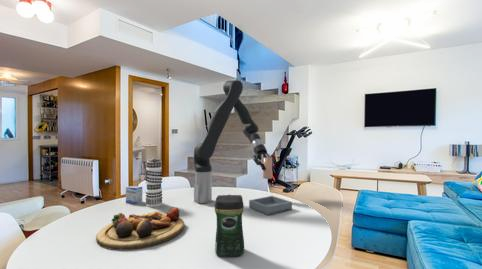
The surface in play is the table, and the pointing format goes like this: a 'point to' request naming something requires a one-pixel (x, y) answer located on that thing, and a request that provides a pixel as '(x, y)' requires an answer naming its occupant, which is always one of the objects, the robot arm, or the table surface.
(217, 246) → the coffee jar
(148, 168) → the model tower building
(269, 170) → the cup
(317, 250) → the table surface
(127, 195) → the medicine box
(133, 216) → the wooden plate with food
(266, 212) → the tray
